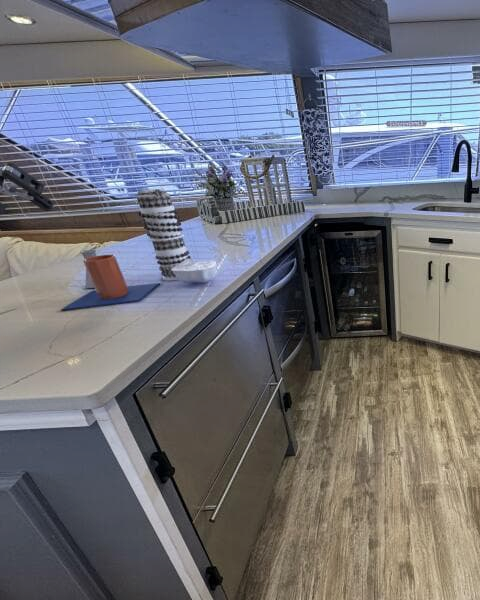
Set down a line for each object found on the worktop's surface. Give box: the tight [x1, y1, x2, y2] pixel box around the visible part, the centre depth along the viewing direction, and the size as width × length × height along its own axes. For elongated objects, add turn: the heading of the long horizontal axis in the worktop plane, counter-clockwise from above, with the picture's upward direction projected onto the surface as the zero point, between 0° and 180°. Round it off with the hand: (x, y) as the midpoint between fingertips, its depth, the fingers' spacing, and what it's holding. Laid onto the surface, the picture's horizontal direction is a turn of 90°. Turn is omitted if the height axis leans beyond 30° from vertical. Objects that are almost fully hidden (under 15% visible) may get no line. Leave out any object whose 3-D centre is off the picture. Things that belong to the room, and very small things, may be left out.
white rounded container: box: [171, 258, 218, 284], centre depth 90 cm, size 10×12×7 cm
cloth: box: [61, 282, 160, 312], centre depth 84 cm, size 16×13×1 cm
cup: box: [82, 254, 129, 299], centre depth 81 cm, size 6×6×10 cm
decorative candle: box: [135, 188, 192, 282], centre depth 93 cm, size 9×9×25 cm
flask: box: [79, 249, 98, 289], centre depth 91 cm, size 7×7×10 cm
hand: (26, 209), depth 64 cm, fingers open, 8 cm apart
